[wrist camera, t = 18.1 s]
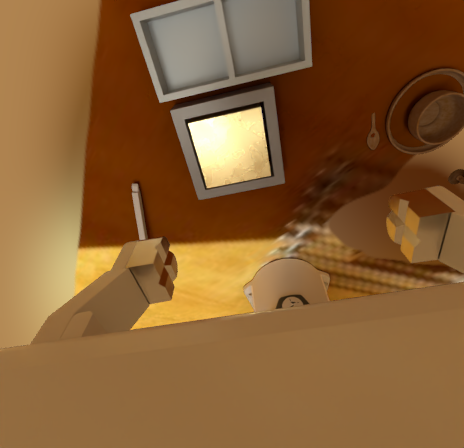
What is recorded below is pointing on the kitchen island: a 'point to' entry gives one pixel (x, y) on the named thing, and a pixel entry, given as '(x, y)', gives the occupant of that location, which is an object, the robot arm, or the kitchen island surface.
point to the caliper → (139, 212)
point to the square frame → (226, 102)
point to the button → (231, 145)
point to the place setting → (430, 119)
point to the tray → (222, 43)
